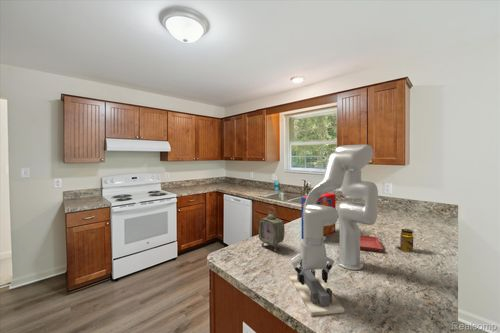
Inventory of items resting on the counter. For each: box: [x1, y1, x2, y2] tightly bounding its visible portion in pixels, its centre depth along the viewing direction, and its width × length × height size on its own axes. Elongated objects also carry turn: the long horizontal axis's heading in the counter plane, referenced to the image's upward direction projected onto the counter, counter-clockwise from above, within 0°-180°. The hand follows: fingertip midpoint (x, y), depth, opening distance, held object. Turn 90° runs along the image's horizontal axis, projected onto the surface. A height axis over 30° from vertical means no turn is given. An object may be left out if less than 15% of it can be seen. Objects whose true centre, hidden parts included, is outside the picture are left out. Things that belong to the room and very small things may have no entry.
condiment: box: [395, 228, 416, 255], centre depth 123 cm, size 7×8×12 cm
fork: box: [290, 253, 300, 261], centre depth 120 cm, size 3×20×2 cm, turn 135°
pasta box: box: [300, 192, 337, 240], centre depth 148 cm, size 28×8×28 cm, turn 128°
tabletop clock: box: [257, 206, 285, 252], centre depth 129 cm, size 14×9×25 cm, turn 40°
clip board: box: [288, 270, 345, 317], centre depth 85 cm, size 24×12×5 cm, turn 8°
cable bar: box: [303, 270, 330, 307], centre depth 85 cm, size 20×3×4 cm, turn 7°
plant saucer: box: [360, 234, 384, 253], centre depth 131 cm, size 18×18×3 cm
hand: (313, 282), depth 85 cm, fingers open, 9 cm apart
